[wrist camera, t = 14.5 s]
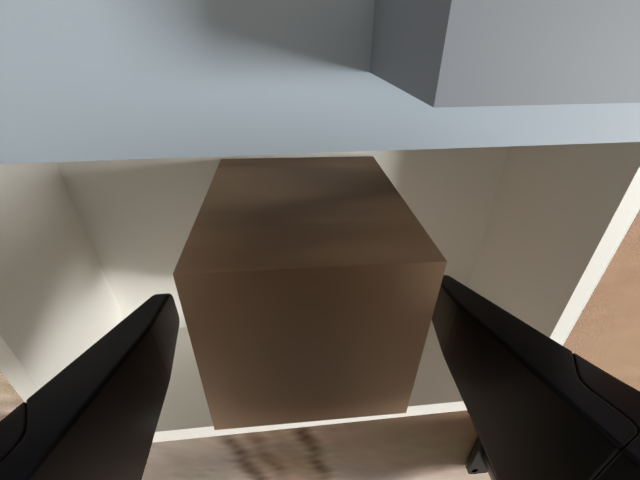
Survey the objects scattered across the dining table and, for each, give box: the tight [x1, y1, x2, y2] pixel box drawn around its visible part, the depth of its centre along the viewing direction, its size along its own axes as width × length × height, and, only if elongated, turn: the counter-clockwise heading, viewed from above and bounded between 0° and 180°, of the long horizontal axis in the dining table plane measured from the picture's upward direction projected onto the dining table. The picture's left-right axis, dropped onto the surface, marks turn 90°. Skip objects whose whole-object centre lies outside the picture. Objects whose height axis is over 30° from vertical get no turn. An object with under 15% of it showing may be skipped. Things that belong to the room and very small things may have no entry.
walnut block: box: [173, 157, 447, 430], centre depth 10 cm, size 5×5×6 cm
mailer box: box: [0, 142, 640, 443], centre depth 10 cm, size 13×16×5 cm
